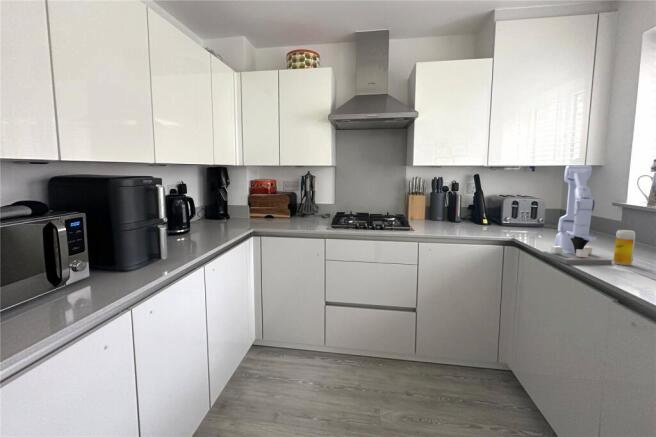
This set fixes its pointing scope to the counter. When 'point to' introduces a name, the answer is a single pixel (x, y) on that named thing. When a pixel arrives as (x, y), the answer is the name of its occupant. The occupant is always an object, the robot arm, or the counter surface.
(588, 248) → the breaker right
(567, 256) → the breaker board
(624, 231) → the yellow and white cylinder
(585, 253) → the block
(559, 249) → the block
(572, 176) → the robot arm
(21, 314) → the counter surface
